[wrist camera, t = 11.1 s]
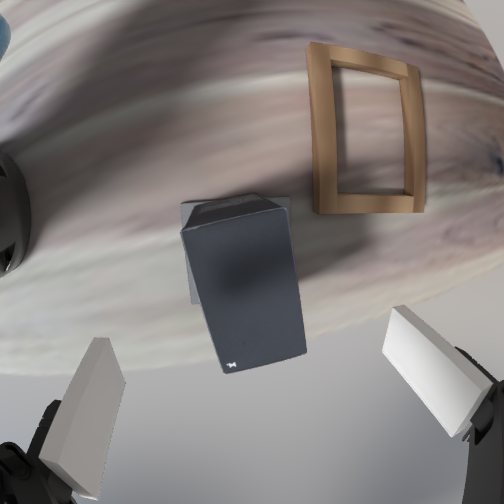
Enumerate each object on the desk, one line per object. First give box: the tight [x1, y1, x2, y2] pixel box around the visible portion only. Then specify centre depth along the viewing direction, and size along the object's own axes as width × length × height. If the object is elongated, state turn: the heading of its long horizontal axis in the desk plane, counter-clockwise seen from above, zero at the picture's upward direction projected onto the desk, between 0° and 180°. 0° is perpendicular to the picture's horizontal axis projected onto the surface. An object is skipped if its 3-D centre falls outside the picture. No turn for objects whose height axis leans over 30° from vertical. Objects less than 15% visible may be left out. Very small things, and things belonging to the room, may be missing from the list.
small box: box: [180, 193, 307, 374], centre depth 21 cm, size 11×6×10 cm, turn 11°
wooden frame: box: [306, 42, 426, 215], centre depth 24 cm, size 13×17×2 cm
